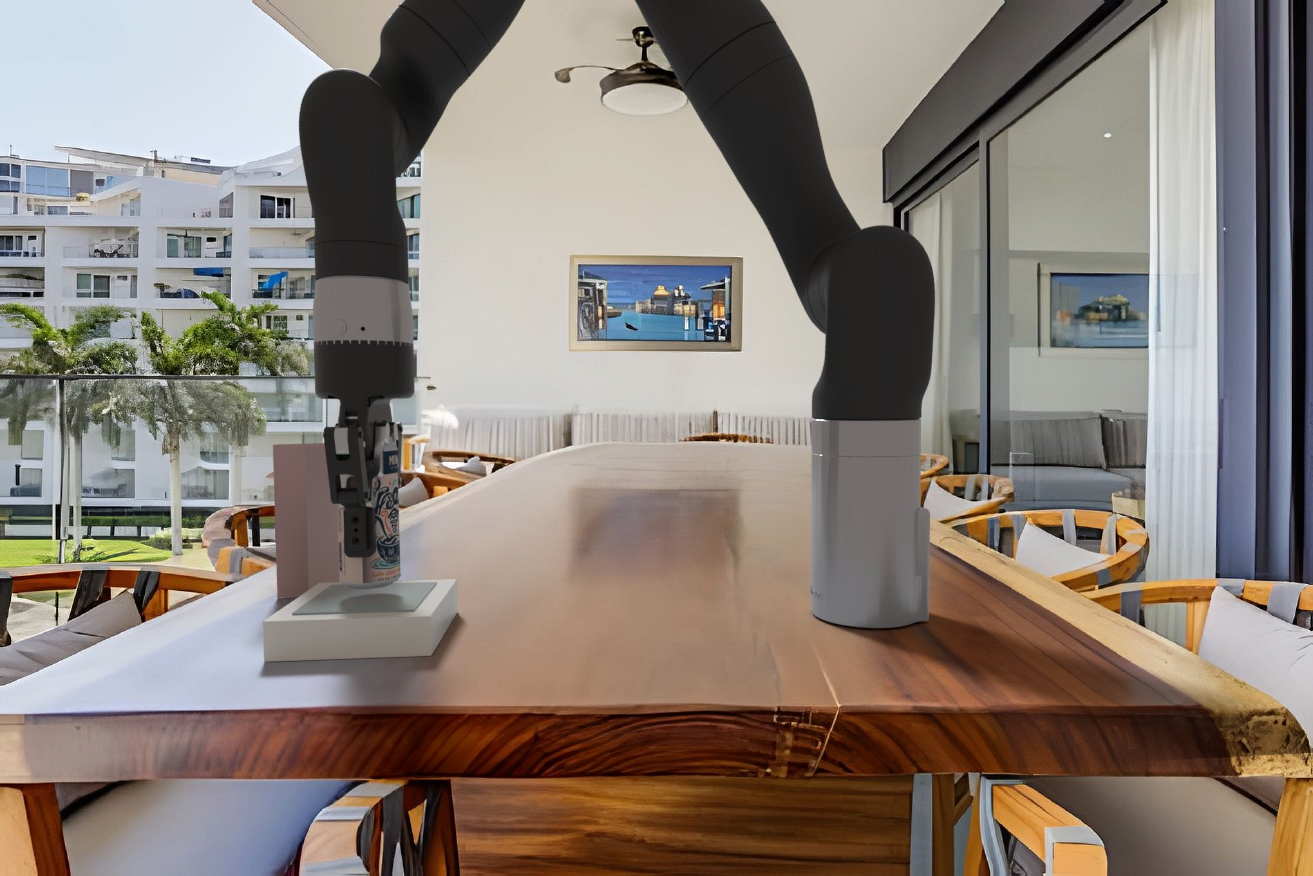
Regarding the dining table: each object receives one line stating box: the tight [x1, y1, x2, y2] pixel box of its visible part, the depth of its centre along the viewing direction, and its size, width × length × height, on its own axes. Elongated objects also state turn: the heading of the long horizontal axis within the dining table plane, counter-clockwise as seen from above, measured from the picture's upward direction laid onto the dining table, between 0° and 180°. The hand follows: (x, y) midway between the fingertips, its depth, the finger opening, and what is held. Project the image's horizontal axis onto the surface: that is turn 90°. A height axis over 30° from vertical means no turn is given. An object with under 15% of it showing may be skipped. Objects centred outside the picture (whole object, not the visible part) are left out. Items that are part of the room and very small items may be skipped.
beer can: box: [338, 436, 402, 589], centre depth 62 cm, size 5×5×12 cm
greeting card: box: [272, 442, 399, 599], centre depth 75 cm, size 11×7×15 cm, turn 121°
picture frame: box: [262, 578, 459, 663], centre depth 63 cm, size 12×12×3 cm
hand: (370, 548), depth 63 cm, fingers closed on beer can, 4 cm apart
